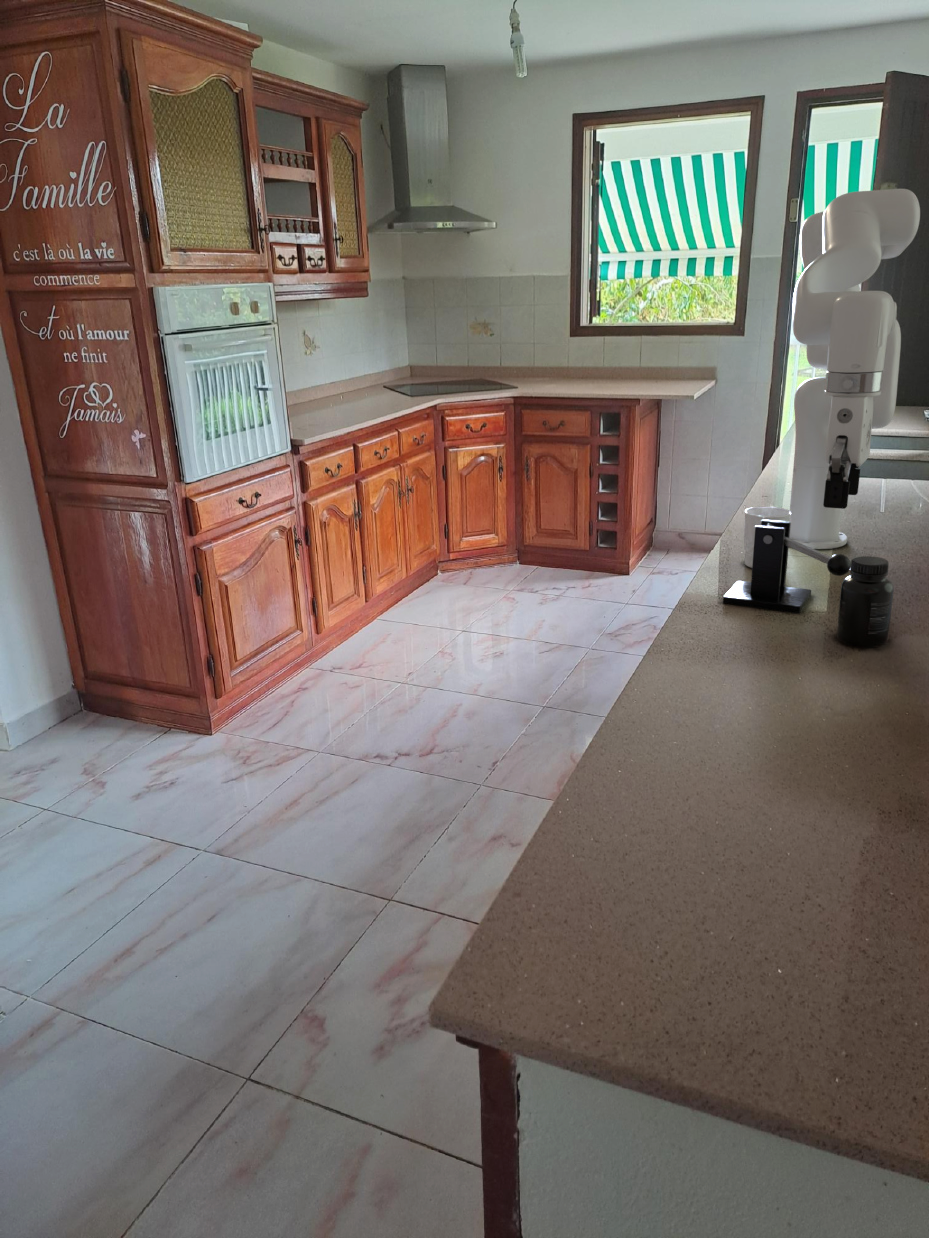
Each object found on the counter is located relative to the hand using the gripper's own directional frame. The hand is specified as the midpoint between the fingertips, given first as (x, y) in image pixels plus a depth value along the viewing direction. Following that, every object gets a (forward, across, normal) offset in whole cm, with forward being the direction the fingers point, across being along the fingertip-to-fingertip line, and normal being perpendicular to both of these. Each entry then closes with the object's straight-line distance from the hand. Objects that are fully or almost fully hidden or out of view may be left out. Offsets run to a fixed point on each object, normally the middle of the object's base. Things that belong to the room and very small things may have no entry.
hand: (840, 500), depth 133 cm
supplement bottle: (+18, -11, -6) cm, 22 cm away
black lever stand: (+18, +1, +10) cm, 20 cm away
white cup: (+18, +20, +15) cm, 30 cm away
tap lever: (+10, +1, +5) cm, 11 cm away
